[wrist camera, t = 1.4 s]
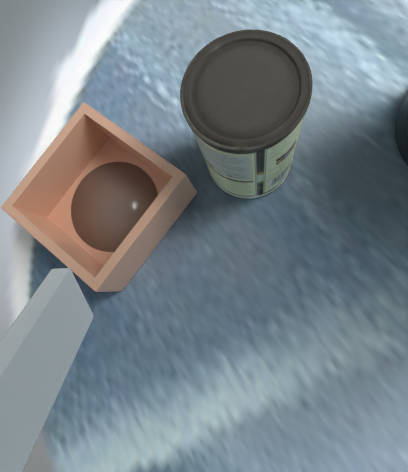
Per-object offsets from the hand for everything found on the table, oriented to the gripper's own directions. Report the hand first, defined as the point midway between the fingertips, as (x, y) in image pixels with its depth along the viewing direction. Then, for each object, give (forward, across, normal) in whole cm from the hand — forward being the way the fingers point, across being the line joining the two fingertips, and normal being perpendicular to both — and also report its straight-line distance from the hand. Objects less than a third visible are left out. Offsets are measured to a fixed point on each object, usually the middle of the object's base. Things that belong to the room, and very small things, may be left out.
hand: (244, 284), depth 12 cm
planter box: (+25, -16, -10) cm, 32 cm away
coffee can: (+29, +1, -7) cm, 29 cm away
